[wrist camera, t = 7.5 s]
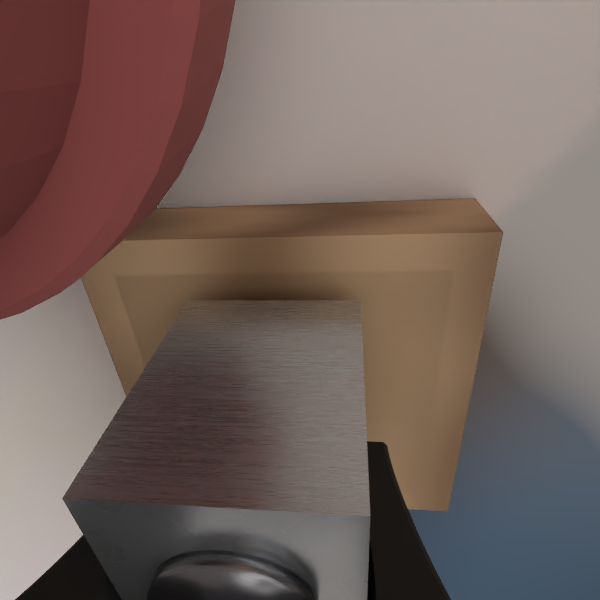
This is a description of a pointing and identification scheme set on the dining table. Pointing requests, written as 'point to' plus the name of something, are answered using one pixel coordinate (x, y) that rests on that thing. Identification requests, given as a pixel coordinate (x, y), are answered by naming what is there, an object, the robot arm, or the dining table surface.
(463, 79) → the dining table surface
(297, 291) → the stand
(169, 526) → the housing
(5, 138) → the mechanical component
